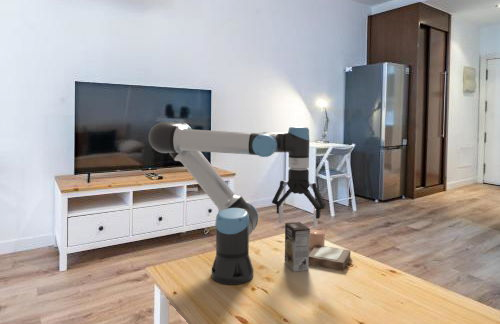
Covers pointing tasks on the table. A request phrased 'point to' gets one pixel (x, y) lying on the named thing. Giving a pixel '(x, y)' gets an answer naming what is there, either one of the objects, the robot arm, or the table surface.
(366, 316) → the table surface
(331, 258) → the walnut picture frame
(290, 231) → the coffee box
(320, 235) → the peach glossy stubby part
